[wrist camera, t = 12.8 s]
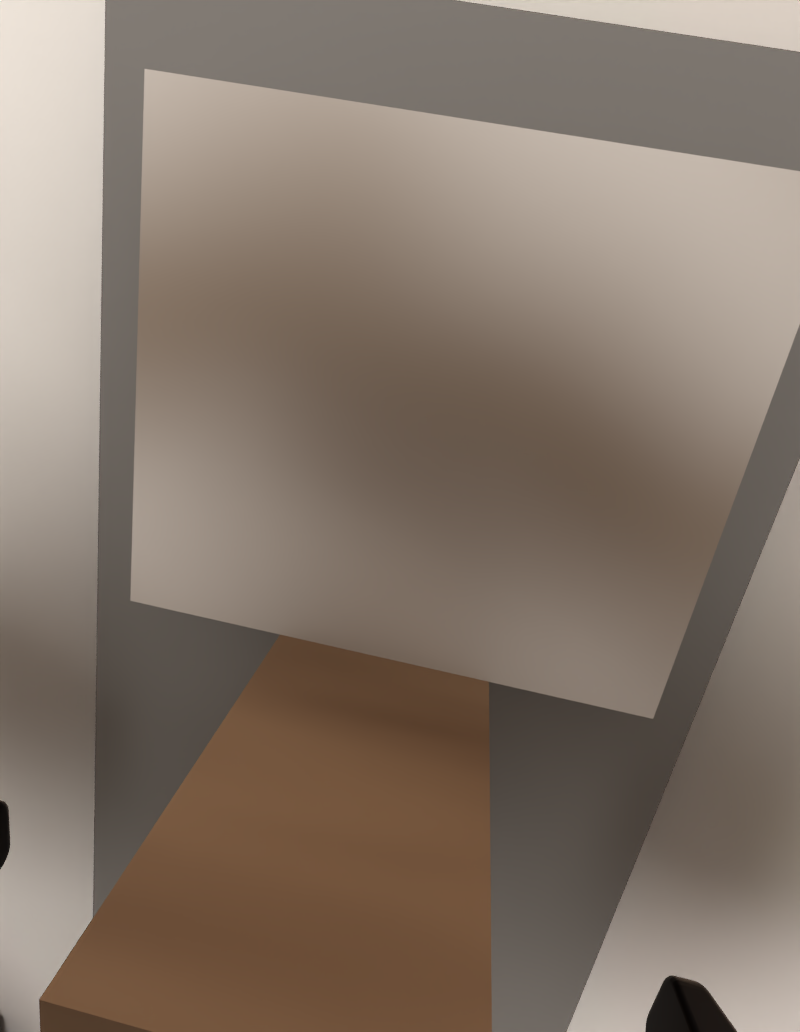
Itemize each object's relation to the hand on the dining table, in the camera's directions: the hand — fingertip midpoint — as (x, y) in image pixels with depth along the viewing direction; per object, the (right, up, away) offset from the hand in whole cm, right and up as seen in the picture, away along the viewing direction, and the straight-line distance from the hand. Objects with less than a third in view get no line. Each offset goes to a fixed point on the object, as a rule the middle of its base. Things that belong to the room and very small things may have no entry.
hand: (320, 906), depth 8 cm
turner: (+1, +2, +2) cm, 3 cm away
